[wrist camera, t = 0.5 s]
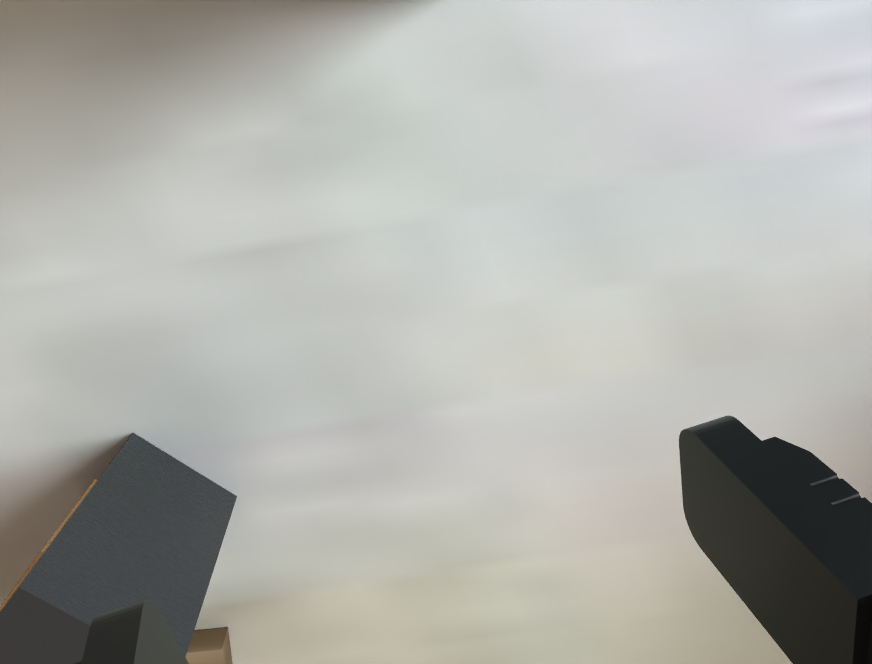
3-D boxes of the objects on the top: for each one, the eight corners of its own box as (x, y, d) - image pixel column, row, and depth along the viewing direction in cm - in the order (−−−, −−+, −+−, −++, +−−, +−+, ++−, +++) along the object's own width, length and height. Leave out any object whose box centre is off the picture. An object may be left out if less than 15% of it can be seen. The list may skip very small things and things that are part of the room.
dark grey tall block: (236, 496, 32) (179, 674, 21) (190, 557, 32) (112, 761, 22) (130, 431, 31) (14, 585, 20) (84, 496, 31) (-54, 679, 21)
